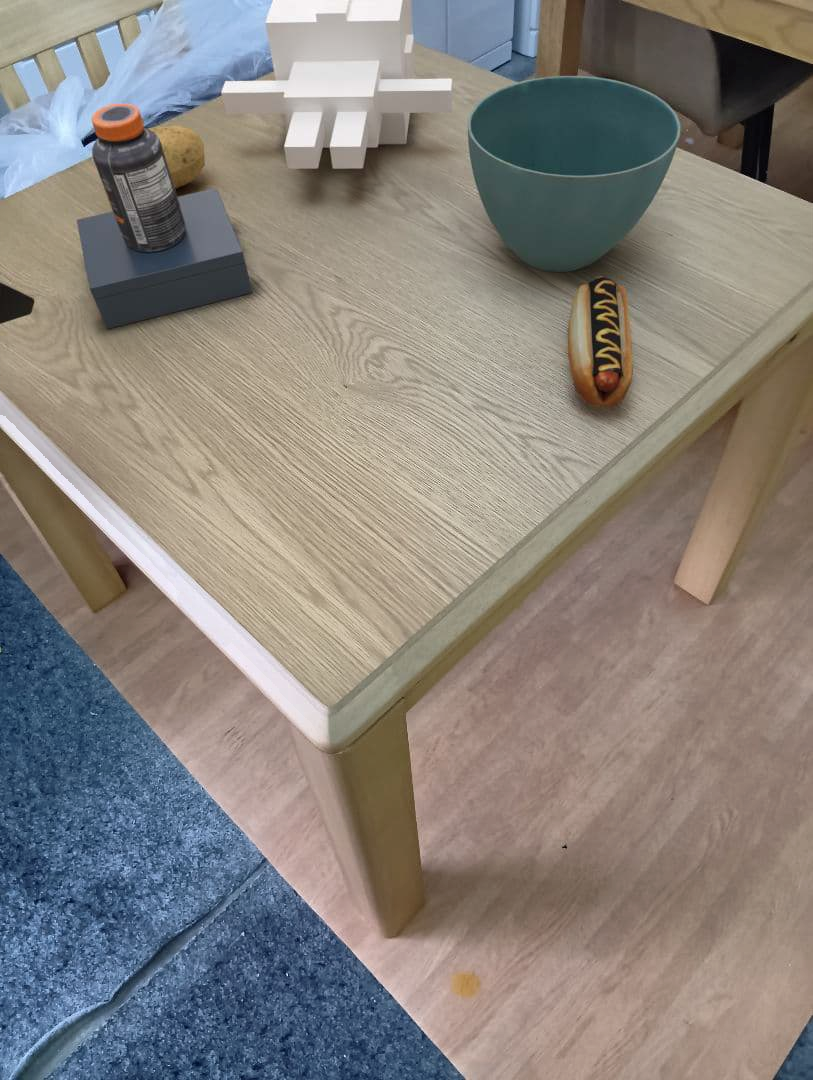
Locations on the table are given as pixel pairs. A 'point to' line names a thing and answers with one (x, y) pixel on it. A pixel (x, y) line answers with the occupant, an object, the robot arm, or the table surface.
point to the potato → (181, 153)
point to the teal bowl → (569, 164)
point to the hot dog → (600, 343)
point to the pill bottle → (136, 179)
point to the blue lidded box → (164, 264)
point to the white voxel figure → (340, 79)
